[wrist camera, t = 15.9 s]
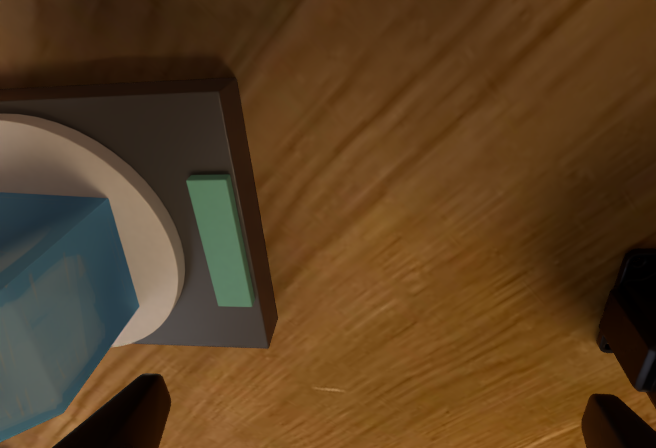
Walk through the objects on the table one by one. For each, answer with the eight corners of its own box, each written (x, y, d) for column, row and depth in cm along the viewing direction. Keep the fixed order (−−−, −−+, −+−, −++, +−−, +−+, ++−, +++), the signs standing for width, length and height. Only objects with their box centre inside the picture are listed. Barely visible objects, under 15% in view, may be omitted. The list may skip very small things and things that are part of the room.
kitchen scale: (236, 77, 19) (211, 97, 16) (278, 318, 26) (265, 361, 24) (-117, 94, 22) (-191, 114, 19) (8, 311, 29) (-33, 349, 26)
